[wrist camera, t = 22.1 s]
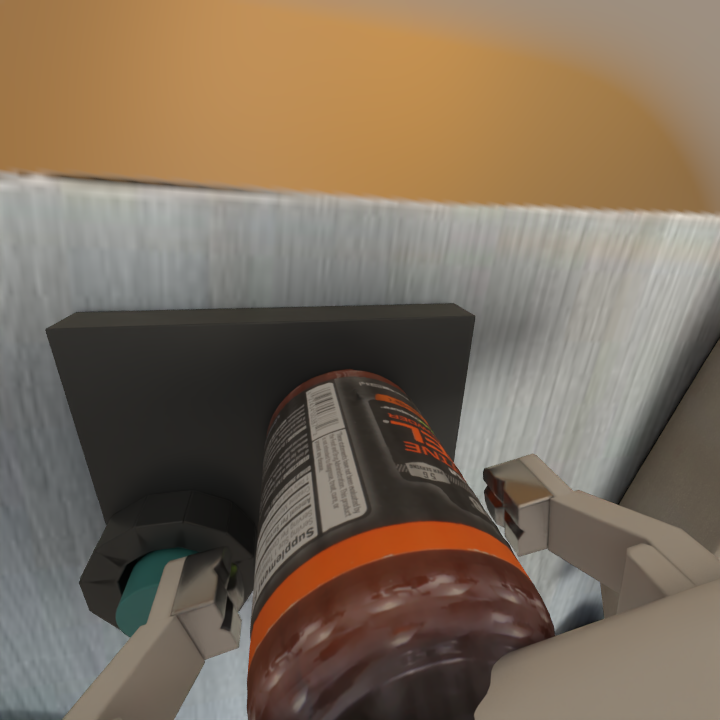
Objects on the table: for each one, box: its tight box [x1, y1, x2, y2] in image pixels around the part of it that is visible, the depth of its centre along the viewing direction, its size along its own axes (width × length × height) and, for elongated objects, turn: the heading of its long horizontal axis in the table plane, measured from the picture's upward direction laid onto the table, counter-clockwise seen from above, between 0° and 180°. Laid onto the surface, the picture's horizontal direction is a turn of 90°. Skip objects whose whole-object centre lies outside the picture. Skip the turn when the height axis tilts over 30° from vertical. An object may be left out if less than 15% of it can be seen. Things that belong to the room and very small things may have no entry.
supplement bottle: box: [247, 369, 555, 720], centre depth 10 cm, size 6×6×11 cm
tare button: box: [116, 547, 199, 638], centre depth 14 cm, size 3×3×2 cm
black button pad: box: [45, 303, 475, 630], centre depth 15 cm, size 14×12×4 cm
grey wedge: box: [600, 339, 720, 619], centre depth 20 cm, size 15×6×20 cm
